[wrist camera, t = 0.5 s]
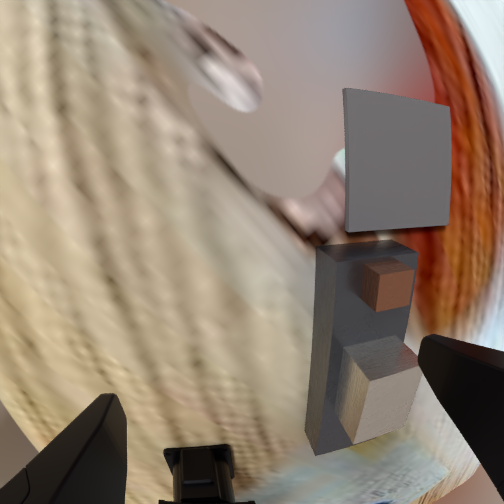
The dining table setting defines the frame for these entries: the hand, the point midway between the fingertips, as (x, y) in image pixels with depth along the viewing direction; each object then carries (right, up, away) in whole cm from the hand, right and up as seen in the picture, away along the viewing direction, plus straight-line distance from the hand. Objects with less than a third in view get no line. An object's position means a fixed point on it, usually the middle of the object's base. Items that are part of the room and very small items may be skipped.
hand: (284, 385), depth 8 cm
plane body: (+7, -5, +17) cm, 19 cm away
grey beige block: (+8, -6, +14) cm, 17 cm away
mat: (+10, +10, +13) cm, 20 cm away
